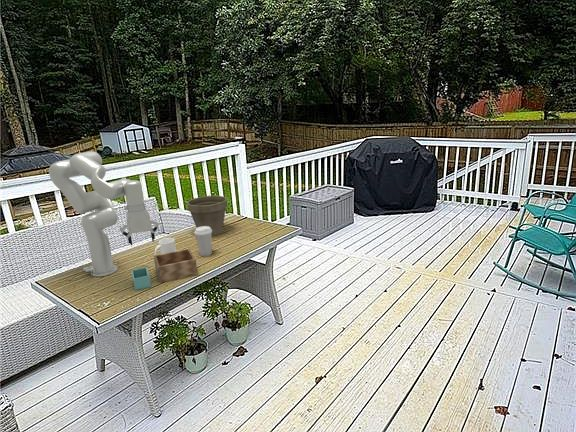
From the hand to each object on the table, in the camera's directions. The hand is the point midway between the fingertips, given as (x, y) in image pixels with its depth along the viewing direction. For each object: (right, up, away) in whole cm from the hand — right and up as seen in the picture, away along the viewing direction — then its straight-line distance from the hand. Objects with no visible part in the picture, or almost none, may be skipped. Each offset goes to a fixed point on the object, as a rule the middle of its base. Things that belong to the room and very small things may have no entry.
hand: (142, 242), depth 185 cm
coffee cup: (+23, -9, +35) cm, 42 cm away
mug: (+2, -11, +30) cm, 32 cm away
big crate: (+12, -16, +13) cm, 24 cm away
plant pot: (+19, +2, +68) cm, 71 cm away
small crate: (-1, -20, +2) cm, 20 cm away
